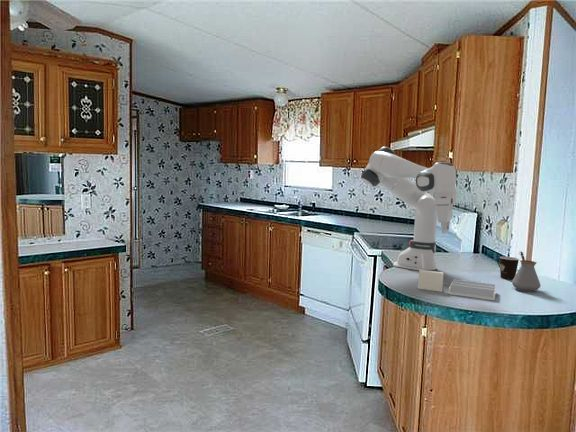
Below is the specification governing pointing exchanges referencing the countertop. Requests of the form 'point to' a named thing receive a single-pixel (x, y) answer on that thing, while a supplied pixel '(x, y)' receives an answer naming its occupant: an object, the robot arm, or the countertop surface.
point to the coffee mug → (508, 267)
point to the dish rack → (472, 289)
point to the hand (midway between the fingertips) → (445, 231)
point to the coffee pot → (526, 276)
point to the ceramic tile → (430, 280)
